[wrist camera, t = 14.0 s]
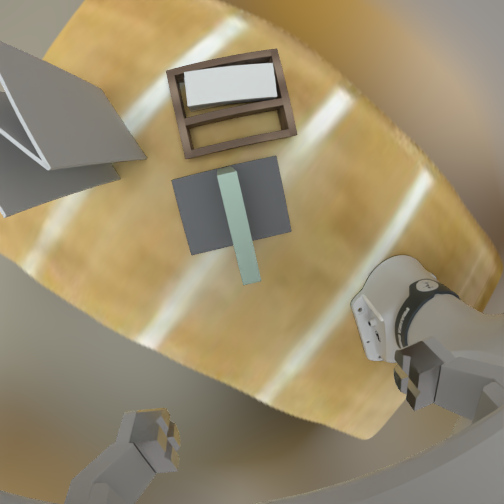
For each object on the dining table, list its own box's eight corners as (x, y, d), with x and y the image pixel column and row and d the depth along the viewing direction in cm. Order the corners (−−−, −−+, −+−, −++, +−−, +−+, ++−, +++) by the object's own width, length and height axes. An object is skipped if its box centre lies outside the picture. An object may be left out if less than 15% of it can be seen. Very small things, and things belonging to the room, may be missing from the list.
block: (230, 166, 47) (236, 171, 32) (248, 242, 50) (261, 281, 35) (217, 169, 47) (216, 175, 32) (235, 245, 50) (243, 285, 35)
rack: (289, 136, 47) (297, 134, 42) (189, 158, 46) (185, 159, 42) (271, 58, 43) (277, 48, 38) (171, 78, 42) (166, 70, 38)
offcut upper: (273, 100, 43) (277, 96, 40) (189, 109, 42) (187, 106, 39) (269, 68, 41) (272, 62, 38) (186, 77, 40) (184, 72, 38)
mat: (290, 230, 51) (291, 231, 51) (191, 254, 51) (191, 255, 50) (275, 155, 48) (276, 155, 47) (172, 180, 47) (171, 180, 47)
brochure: (74, 110, 42) (-57, 84, 13) (101, 88, 41) (-17, 33, 13) (119, 179, 46) (4, 218, 18) (147, 158, 46) (51, 167, 17)
